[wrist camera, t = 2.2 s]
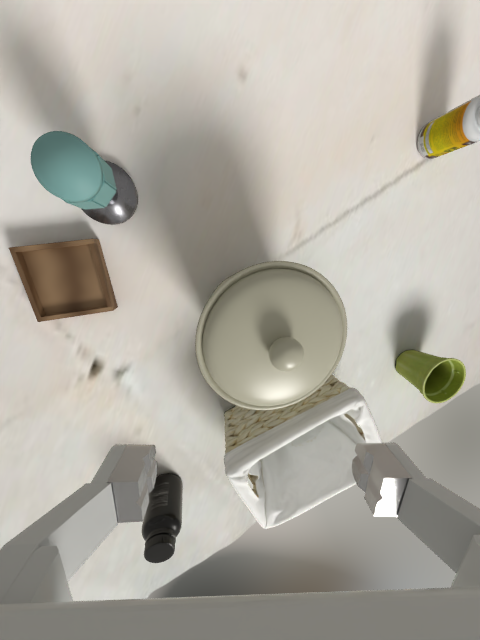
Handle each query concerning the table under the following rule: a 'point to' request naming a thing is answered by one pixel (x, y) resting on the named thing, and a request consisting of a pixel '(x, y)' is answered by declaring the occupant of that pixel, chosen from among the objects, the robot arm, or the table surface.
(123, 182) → the post
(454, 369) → the plant pot
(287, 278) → the canister
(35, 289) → the walnut tray
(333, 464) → the storage basket
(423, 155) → the supplement bottle
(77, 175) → the cap
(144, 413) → the table surface
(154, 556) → the supplement bottle
